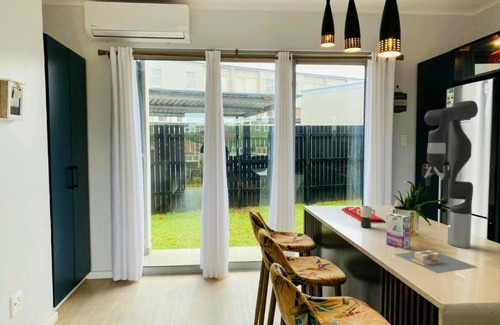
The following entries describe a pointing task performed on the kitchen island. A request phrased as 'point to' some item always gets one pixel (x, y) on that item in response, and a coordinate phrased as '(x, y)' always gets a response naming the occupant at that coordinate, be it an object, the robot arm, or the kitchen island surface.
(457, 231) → the robot arm
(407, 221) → the candy bar box
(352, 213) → the dish drying mat
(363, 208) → the character mug
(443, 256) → the rubber mat
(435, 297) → the kitchen island surface
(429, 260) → the maple deck block
